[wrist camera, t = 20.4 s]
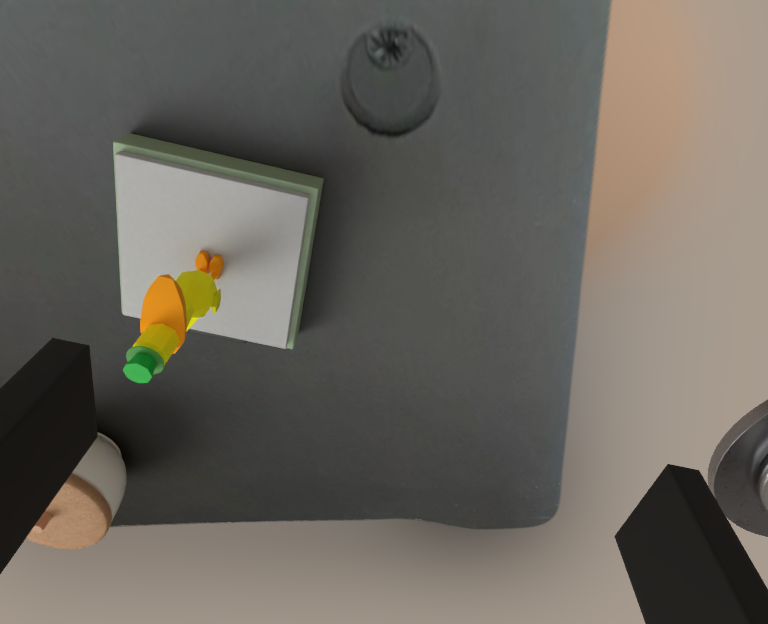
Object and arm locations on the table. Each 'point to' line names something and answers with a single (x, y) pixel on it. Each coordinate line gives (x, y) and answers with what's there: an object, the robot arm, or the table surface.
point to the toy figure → (172, 315)
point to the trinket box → (85, 500)
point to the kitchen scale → (217, 234)
